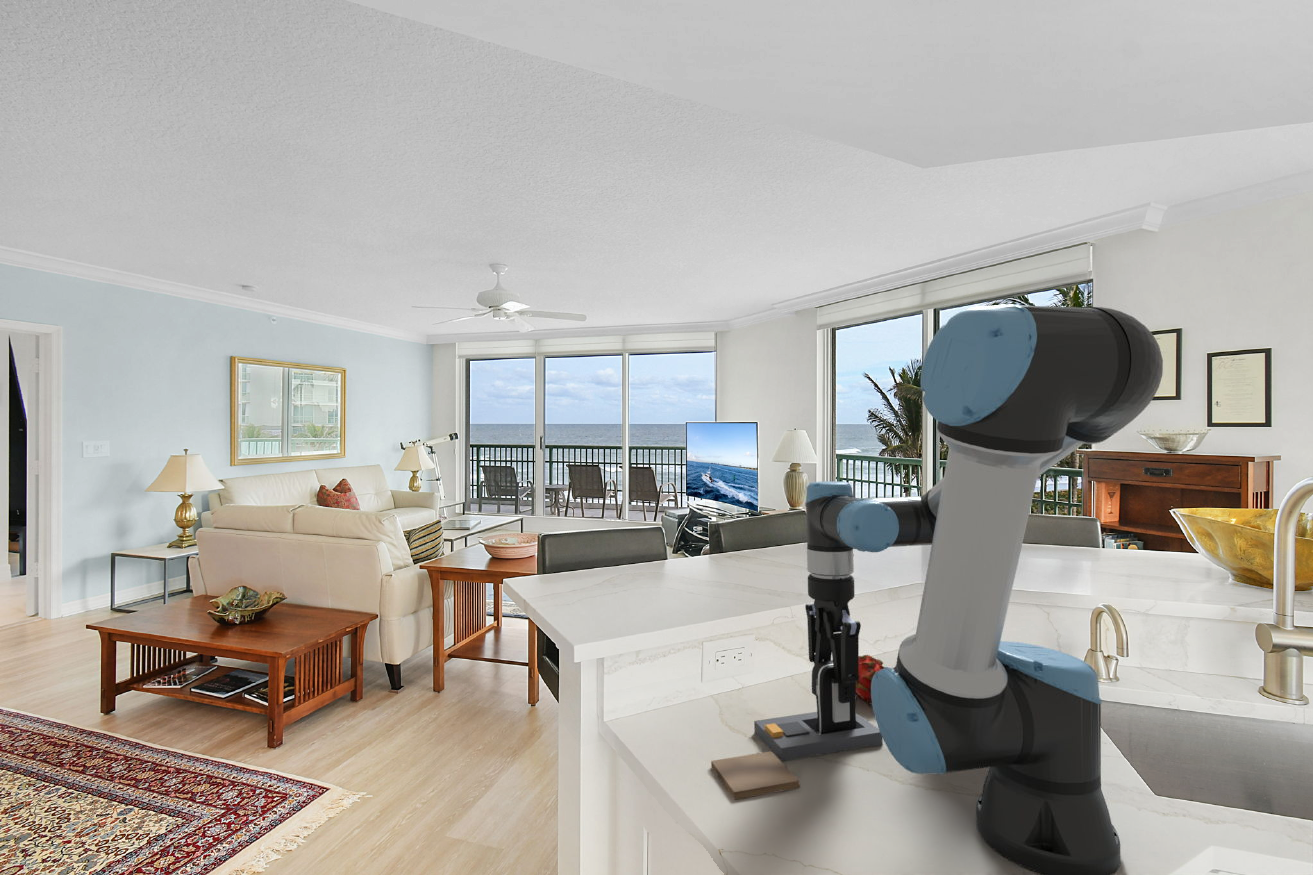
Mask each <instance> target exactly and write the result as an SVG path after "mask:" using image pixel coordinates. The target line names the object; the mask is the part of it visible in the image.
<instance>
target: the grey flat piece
mask: <svg viewBox="0 0 1313 875" xmlns="http://www.w3.org/2000/svg"><path fill="white" fill-rule="evenodd" d="M816 723H817V711H813V712H807V713H806V712H805V713H800V714H791V715H786V716H780V717H779V716H778V717H772V718H766V719H759V720H754V723H753V724H754V734H755V735H756V736H757V737H758V738H759V740H761V741H762V742H763V744H765V746H767V747H768V748H769V749H770V751H772V752H773V753H774V754H775V756H776V757H777V758H778V759H779V760H780V761H781V762H784V761H790V760H791V761H792V760H796V759H803V758H808V757H815V756H820V755H826V754H832V753H833V754H834V753H838V752H837V751H839V752H844V751H851V750H855V749H856V750H857V749H862V748H869V747H875V746H879V745H883V742H884V740H883V738H882V735H881V733H880V730H879V728H877V727H876V725H873V724H872V723H871V722H869V721H868V720H867V719H866V718H863V717H862V716H861V715H859V714H858V713H857V712H856V729H852V730H846V731H840V732H834V733H827V734H821V735H820V734H819V733H818V732H817V731H816ZM850 749H851V750H850Z"/></svg>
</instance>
